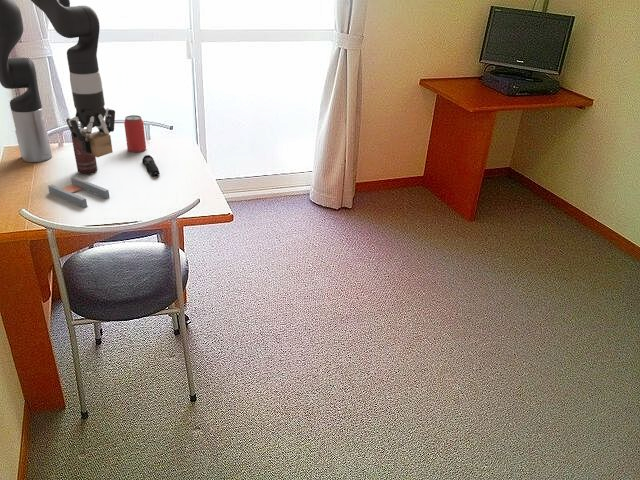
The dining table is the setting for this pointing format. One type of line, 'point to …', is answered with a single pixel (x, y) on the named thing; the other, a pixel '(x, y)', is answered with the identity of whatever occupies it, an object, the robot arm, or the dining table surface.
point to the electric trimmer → (150, 165)
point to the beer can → (135, 133)
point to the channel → (76, 186)
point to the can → (83, 159)
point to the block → (100, 144)
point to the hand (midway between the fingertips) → (96, 150)
